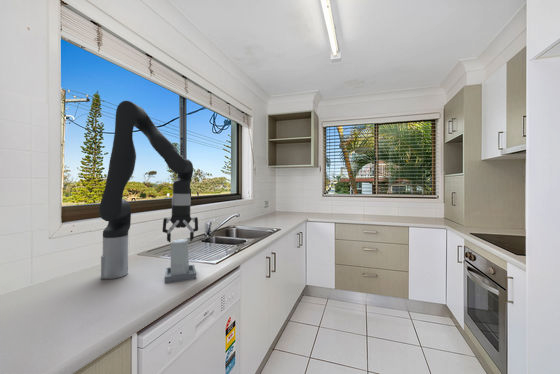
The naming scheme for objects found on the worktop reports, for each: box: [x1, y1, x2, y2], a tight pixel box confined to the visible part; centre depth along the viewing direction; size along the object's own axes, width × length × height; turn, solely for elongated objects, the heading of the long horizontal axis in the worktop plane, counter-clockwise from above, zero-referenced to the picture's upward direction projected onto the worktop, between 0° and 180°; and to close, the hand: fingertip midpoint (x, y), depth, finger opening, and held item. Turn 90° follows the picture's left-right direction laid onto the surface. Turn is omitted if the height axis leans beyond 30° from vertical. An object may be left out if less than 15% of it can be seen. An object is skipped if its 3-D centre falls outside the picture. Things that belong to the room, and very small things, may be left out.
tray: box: [164, 264, 197, 284], centre depth 106 cm, size 12×12×2 cm
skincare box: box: [170, 238, 190, 276], centre depth 106 cm, size 8×6×15 cm
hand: (180, 241), depth 106 cm, fingers open, 8 cm apart
